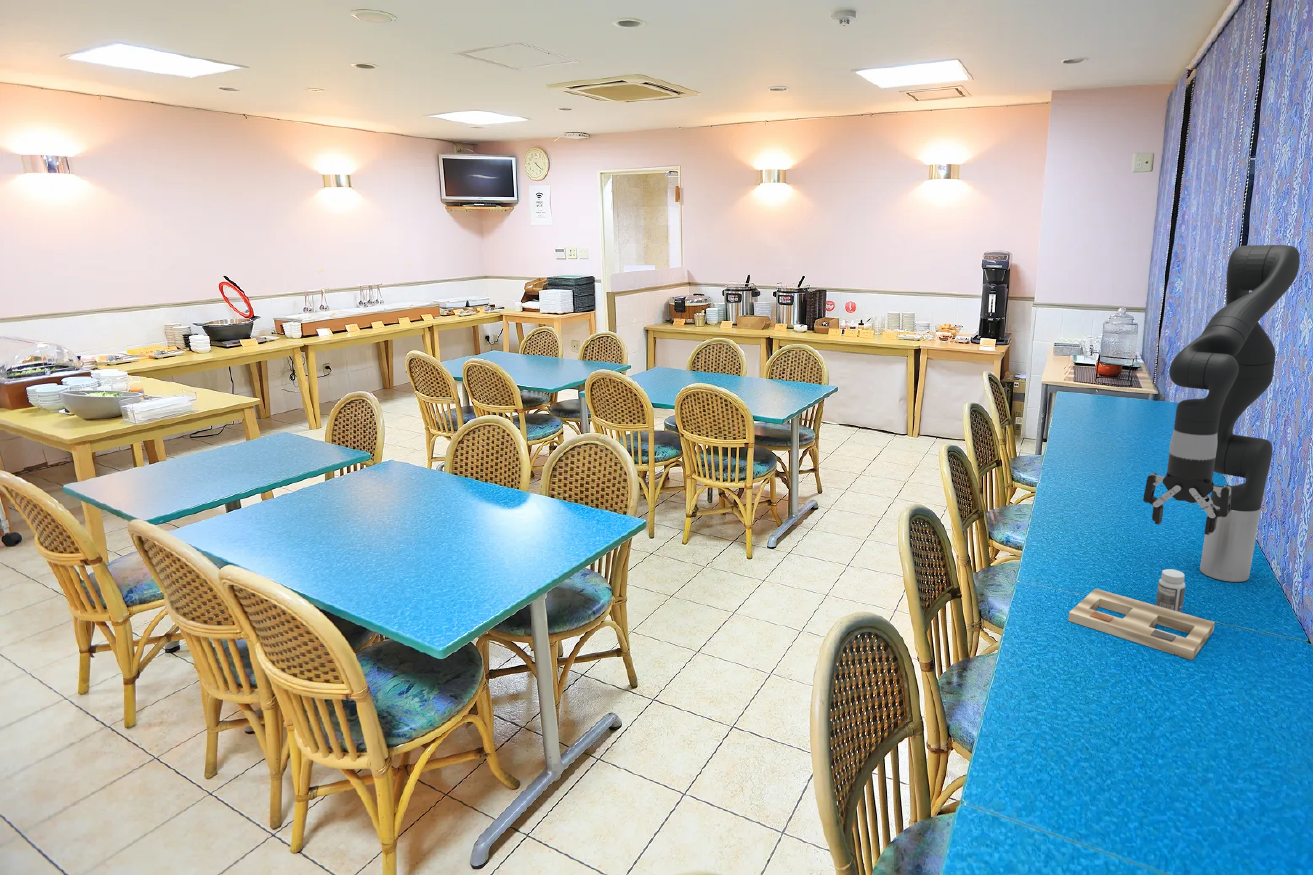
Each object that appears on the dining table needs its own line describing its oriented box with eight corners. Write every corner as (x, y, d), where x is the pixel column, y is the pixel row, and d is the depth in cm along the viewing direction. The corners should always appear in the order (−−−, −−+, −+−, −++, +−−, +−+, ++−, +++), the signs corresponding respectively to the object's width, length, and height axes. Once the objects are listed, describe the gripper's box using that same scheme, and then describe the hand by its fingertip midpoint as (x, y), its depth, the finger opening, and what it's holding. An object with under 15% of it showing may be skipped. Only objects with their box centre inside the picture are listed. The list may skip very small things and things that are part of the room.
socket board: (1094, 596, 166) (1095, 587, 166) (1213, 630, 150) (1215, 620, 150) (1068, 620, 157) (1069, 610, 156) (1192, 660, 141) (1193, 649, 140)
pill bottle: (1171, 602, 162) (1176, 567, 160) (1187, 613, 158) (1192, 577, 155) (1150, 604, 162) (1154, 568, 160) (1165, 614, 158) (1170, 578, 155)
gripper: (1241, 454, 144) (1229, 531, 149) (1156, 442, 155) (1147, 514, 159) (1232, 463, 140) (1220, 543, 144) (1145, 450, 150) (1136, 525, 154)
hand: (1182, 528), depth 151 cm, fingers open, 8 cm apart
